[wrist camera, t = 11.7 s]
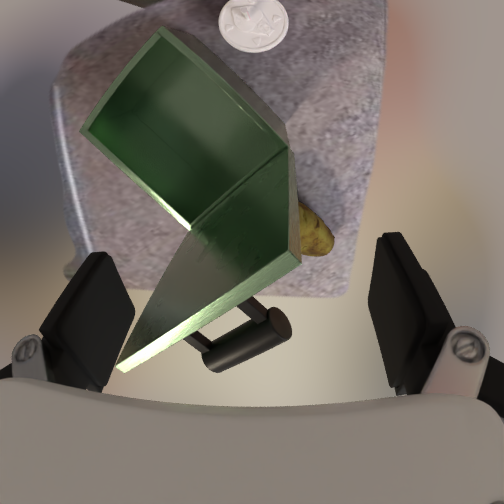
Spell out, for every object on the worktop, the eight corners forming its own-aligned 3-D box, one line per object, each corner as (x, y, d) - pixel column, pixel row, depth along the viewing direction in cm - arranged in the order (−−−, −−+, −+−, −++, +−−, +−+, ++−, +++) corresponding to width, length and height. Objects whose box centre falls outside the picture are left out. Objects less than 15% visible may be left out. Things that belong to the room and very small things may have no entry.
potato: (288, 258, 48) (290, 293, 41) (243, 193, 42) (237, 221, 35) (336, 236, 45) (346, 269, 38) (296, 164, 39) (301, 188, 32)
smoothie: (251, 0, 26) (240, -33, 15) (295, 28, 28) (309, 7, 17) (220, 38, 30) (192, 24, 18) (263, 65, 32) (259, 64, 20)
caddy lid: (114, 366, 17) (179, 408, 18) (288, 249, 11) (362, 330, 13) (187, 232, 31) (223, 266, 33) (288, 146, 26) (325, 190, 27)
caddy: (125, 110, 35) (78, 131, 26) (193, 35, 29) (161, 25, 20) (210, 188, 42) (191, 232, 32) (285, 124, 36) (290, 148, 26)
